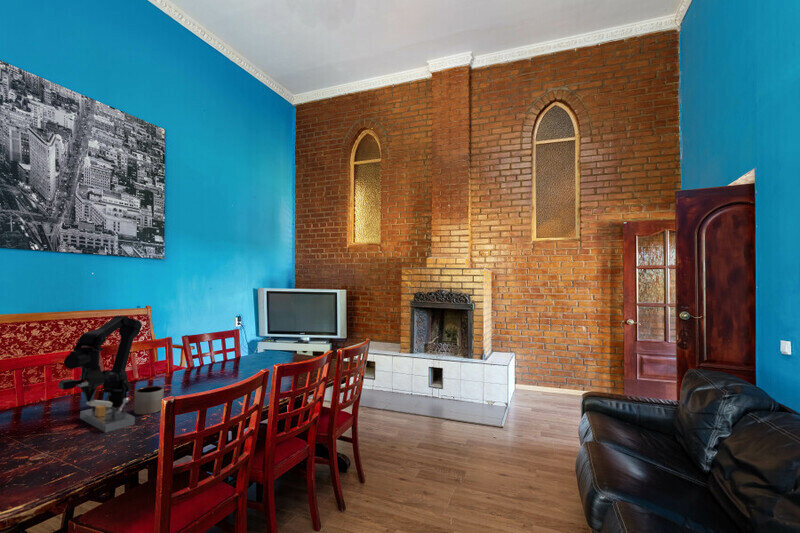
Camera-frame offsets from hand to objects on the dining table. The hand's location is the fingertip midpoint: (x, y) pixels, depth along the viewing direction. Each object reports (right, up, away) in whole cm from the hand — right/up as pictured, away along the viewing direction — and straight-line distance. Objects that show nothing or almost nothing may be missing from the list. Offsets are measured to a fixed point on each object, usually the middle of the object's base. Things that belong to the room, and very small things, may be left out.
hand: (88, 401), depth 159 cm
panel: (+9, -8, -2) cm, 12 cm away
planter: (+17, -9, +12) cm, 23 cm away
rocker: (+2, -3, +3) cm, 5 cm away
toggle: (+16, -3, -6) cm, 18 cm away
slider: (+8, -4, -4) cm, 10 cm away
